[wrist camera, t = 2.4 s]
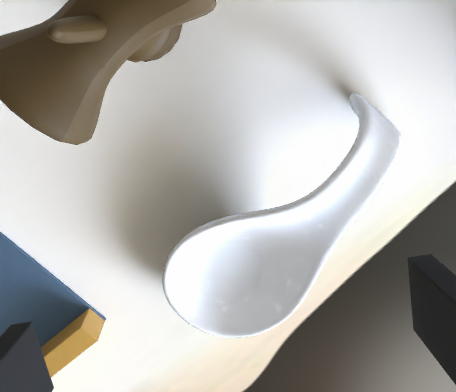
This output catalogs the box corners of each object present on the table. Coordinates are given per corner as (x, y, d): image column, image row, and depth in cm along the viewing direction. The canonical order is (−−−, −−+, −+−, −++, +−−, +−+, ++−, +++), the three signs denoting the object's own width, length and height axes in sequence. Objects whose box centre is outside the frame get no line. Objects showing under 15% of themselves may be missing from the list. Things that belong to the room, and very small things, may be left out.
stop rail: (-18, 394, 44) (-32, 418, 42) (89, 307, 41) (80, 327, 38) (-2, 405, 45) (-15, 429, 42) (105, 320, 41) (97, 340, 39)
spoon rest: (242, 334, 43) (246, 392, 36) (141, 271, 40) (126, 322, 33) (421, 148, 36) (467, 178, 29) (316, 57, 33) (341, 67, 26)
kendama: (71, 37, 32) (-125, 67, 14) (164, -63, 30) (79, -192, 11) (131, 98, 34) (30, 197, 15) (223, 8, 32) (233, -4, 13)
